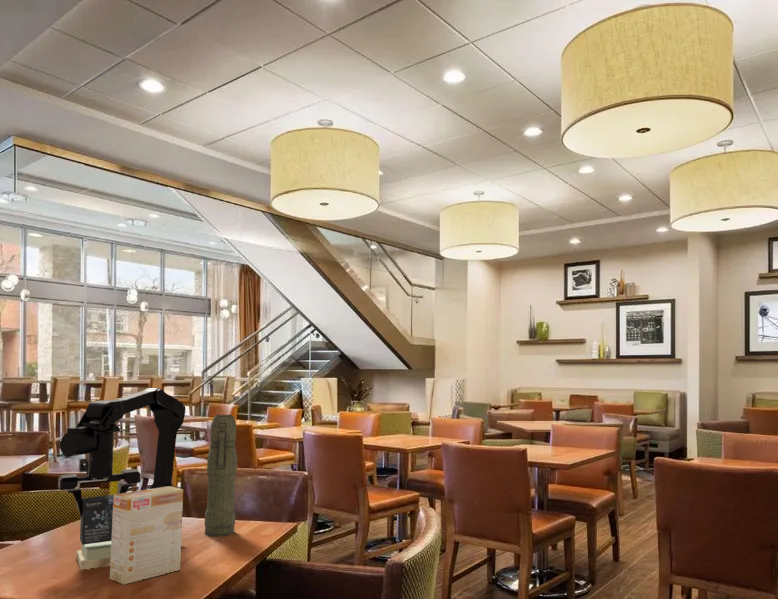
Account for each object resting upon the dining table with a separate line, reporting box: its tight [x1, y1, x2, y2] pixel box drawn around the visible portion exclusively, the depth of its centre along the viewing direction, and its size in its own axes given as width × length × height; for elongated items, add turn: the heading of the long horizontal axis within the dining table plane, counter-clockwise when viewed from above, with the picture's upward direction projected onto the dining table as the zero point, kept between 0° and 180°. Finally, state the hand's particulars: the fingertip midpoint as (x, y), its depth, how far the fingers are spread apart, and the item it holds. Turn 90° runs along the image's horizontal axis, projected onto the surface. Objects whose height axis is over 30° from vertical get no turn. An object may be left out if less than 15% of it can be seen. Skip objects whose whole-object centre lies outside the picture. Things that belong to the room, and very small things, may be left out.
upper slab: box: [81, 541, 111, 561], centre depth 170 cm, size 10×10×2 cm
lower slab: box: [75, 549, 111, 571], centre depth 170 cm, size 12×12×2 cm
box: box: [79, 494, 114, 546], centre depth 167 cm, size 8×6×11 cm
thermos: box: [204, 414, 238, 537], centre depth 201 cm, size 9×12×35 cm
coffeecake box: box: [109, 486, 184, 586], centre depth 160 cm, size 15×7×20 cm, turn 141°
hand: (98, 513), depth 167 cm, fingers closed on box, 8 cm apart
